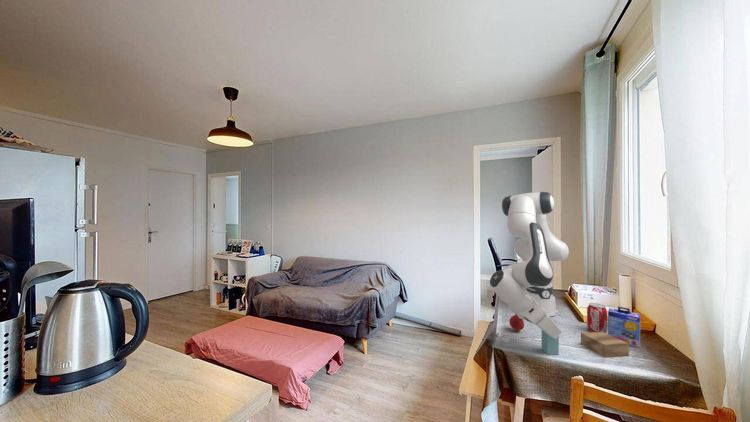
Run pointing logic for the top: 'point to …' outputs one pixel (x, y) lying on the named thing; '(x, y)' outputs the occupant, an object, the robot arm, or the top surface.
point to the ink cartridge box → (624, 325)
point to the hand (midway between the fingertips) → (551, 333)
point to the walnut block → (605, 344)
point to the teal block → (550, 344)
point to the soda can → (596, 318)
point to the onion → (516, 323)
